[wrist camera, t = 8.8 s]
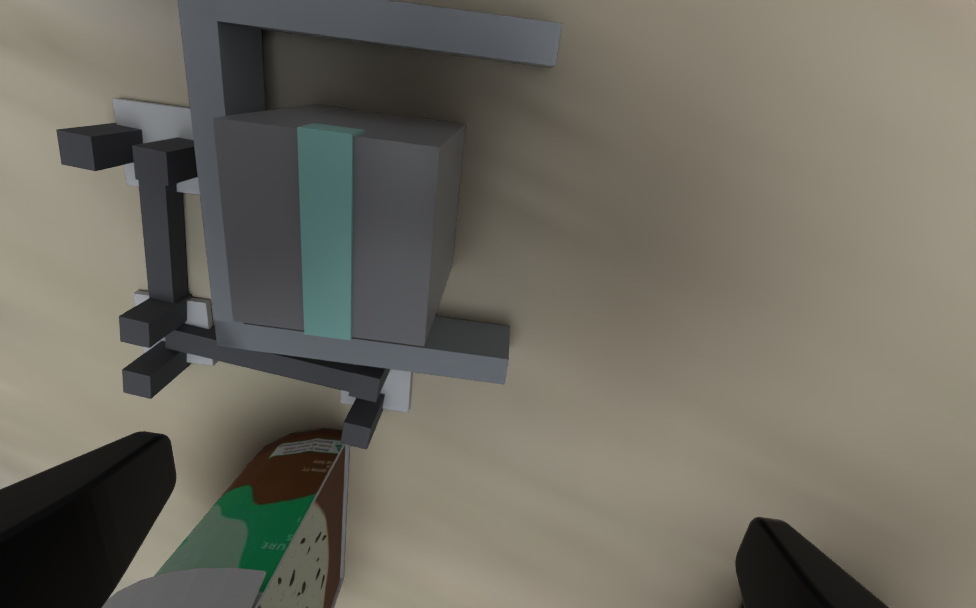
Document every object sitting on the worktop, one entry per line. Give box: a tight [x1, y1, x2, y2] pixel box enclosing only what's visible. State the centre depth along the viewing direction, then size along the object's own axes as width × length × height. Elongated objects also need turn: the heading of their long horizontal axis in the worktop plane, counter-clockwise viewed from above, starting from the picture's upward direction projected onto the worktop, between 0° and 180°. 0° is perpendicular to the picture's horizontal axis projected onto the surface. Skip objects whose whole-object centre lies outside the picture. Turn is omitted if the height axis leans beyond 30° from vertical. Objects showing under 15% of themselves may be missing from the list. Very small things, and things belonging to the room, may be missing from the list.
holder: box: [178, 0, 562, 384], centre depth 16 cm, size 11×10×2 cm
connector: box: [213, 104, 466, 346], centre depth 15 cm, size 5×5×6 cm
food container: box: [102, 428, 350, 608], centre depth 19 cm, size 12×6×10 cm, turn 172°
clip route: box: [57, 98, 412, 449], centre depth 18 cm, size 11×11×2 cm
